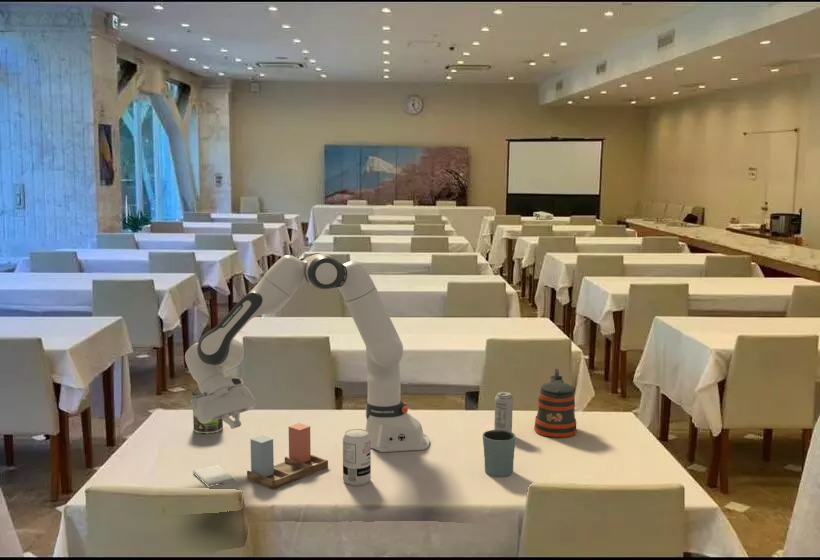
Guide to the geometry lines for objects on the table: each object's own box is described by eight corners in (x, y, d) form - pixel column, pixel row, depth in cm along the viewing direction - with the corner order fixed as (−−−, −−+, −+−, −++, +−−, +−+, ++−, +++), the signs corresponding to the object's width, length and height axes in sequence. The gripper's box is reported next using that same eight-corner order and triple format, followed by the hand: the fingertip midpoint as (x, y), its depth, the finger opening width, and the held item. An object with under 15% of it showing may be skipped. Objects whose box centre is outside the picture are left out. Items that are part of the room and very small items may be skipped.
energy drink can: (515, 436, 292) (516, 394, 290) (501, 439, 289) (503, 397, 287) (503, 431, 297) (505, 390, 295) (490, 434, 294) (491, 392, 292)
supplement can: (342, 476, 256) (342, 428, 254) (370, 475, 257) (370, 428, 255) (343, 486, 248) (342, 438, 246) (371, 486, 249) (371, 437, 247)
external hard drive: (218, 469, 262) (234, 482, 252) (193, 475, 258) (208, 488, 247) (218, 464, 262) (234, 477, 252) (192, 469, 257) (208, 483, 247)
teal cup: (505, 481, 254) (506, 442, 252) (475, 473, 259) (476, 436, 257) (520, 470, 262) (521, 433, 260) (490, 463, 268) (491, 427, 266)
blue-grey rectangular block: (251, 474, 254) (250, 439, 252) (262, 469, 257) (262, 435, 256) (262, 478, 251) (261, 443, 249) (273, 474, 254) (273, 439, 252)
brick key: (289, 460, 265) (288, 426, 264) (299, 456, 269) (299, 423, 267) (299, 464, 262) (299, 430, 260) (310, 460, 266) (310, 426, 264)
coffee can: (226, 431, 295) (225, 392, 293) (197, 435, 290) (195, 396, 288) (219, 422, 304) (217, 384, 302) (190, 426, 299) (188, 388, 297)
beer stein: (531, 420, 310) (533, 367, 307) (571, 421, 309) (573, 367, 306) (536, 437, 291) (537, 381, 288) (579, 439, 290) (581, 382, 287)
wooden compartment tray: (247, 479, 254) (246, 471, 253) (301, 458, 270) (301, 451, 270) (273, 489, 246) (273, 481, 246) (328, 468, 263) (328, 460, 262)
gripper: (192, 391, 255) (213, 429, 250) (246, 377, 270) (266, 413, 265) (184, 402, 258) (204, 440, 254) (237, 388, 274) (257, 424, 269)
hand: (236, 426), depth 260 cm, fingers closed
